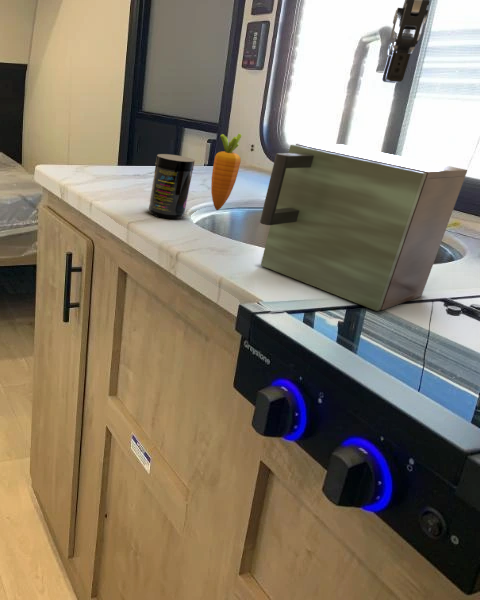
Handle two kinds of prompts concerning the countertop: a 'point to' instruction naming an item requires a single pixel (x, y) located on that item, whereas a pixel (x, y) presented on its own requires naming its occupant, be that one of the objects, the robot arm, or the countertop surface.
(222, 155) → the carrot
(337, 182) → the cupboard door
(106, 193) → the countertop surface
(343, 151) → the cupboard
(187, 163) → the supplement container
